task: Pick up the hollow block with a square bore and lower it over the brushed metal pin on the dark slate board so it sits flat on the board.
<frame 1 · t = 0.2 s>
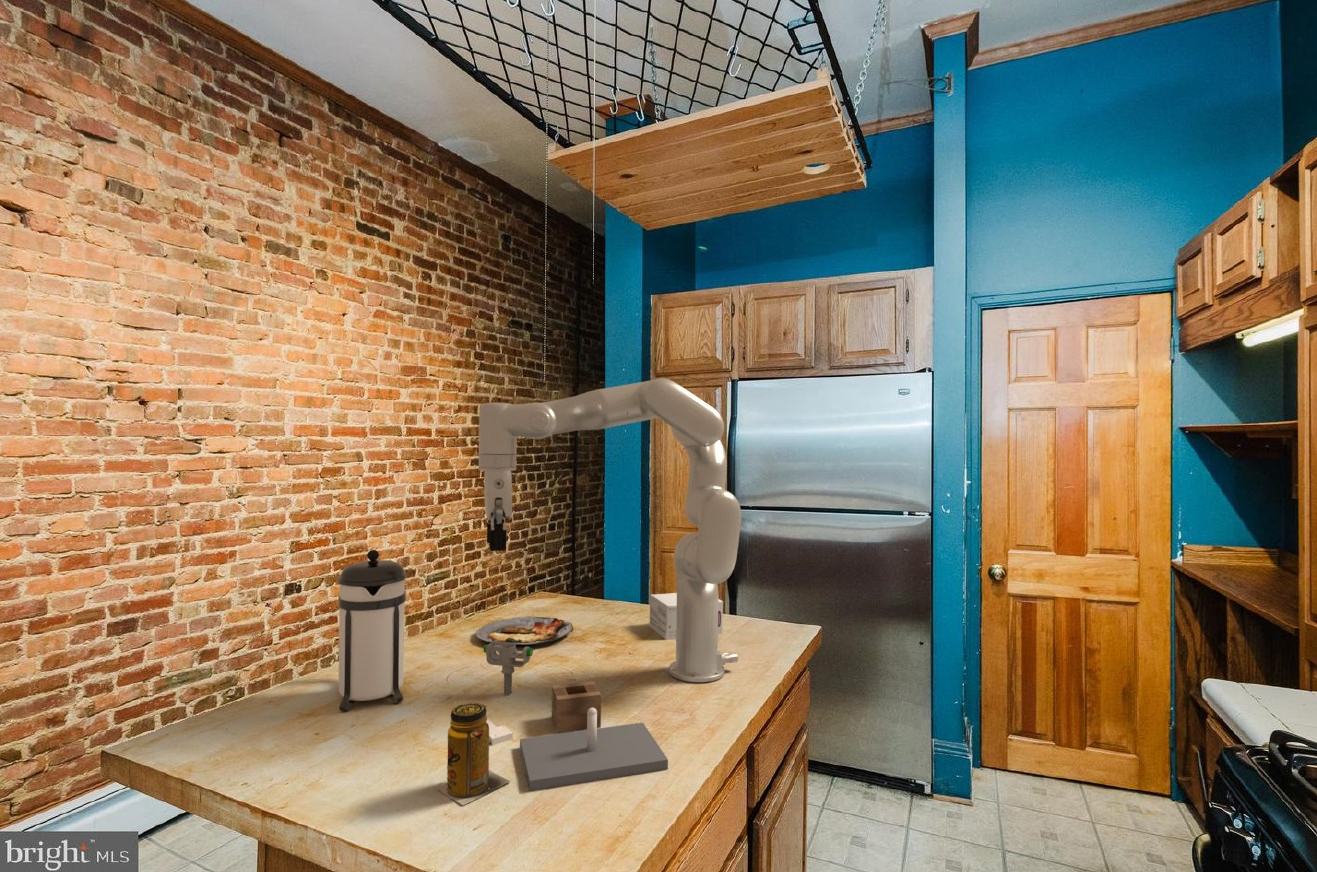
hand: (496, 546, 131), 31 cm above the counter, tool pointing down, fingers open, 9 cm apart
supplement box: (685, 631, 178), on the counter
hollow block: (575, 721, 120), on the counter
condiment: (473, 787, 98), on the counter
coffee press: (369, 696, 131), on the counter
food plate: (525, 637, 171), on the counter
mechanical component: (507, 694, 133), on the counter
corner connector: (481, 740, 114), on the counter
pin board: (591, 757, 107), on the counter
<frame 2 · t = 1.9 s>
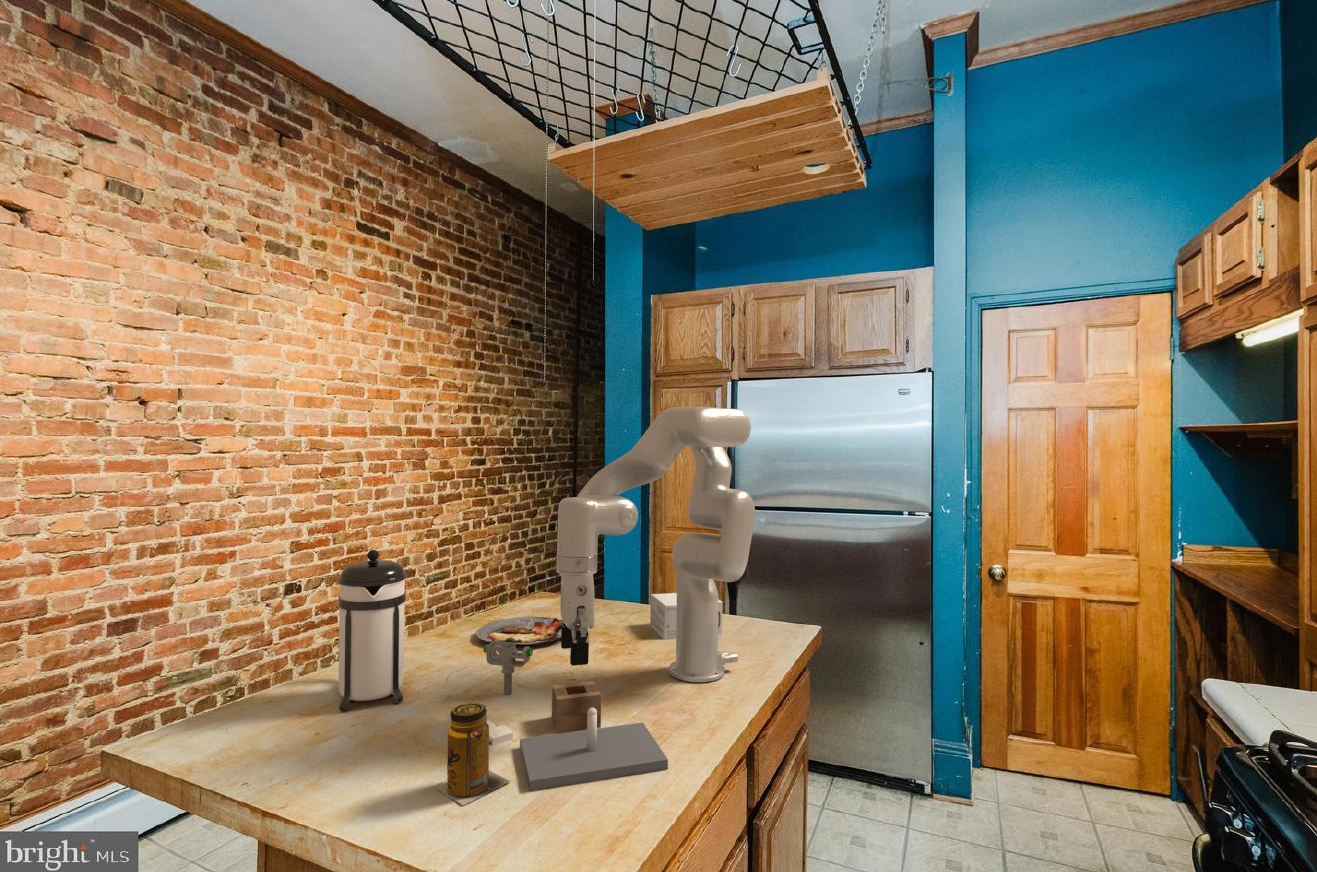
hand: (574, 655, 119), 13 cm above the counter, tool pointing down, fingers open, 9 cm apart
nothing on the counter moved.
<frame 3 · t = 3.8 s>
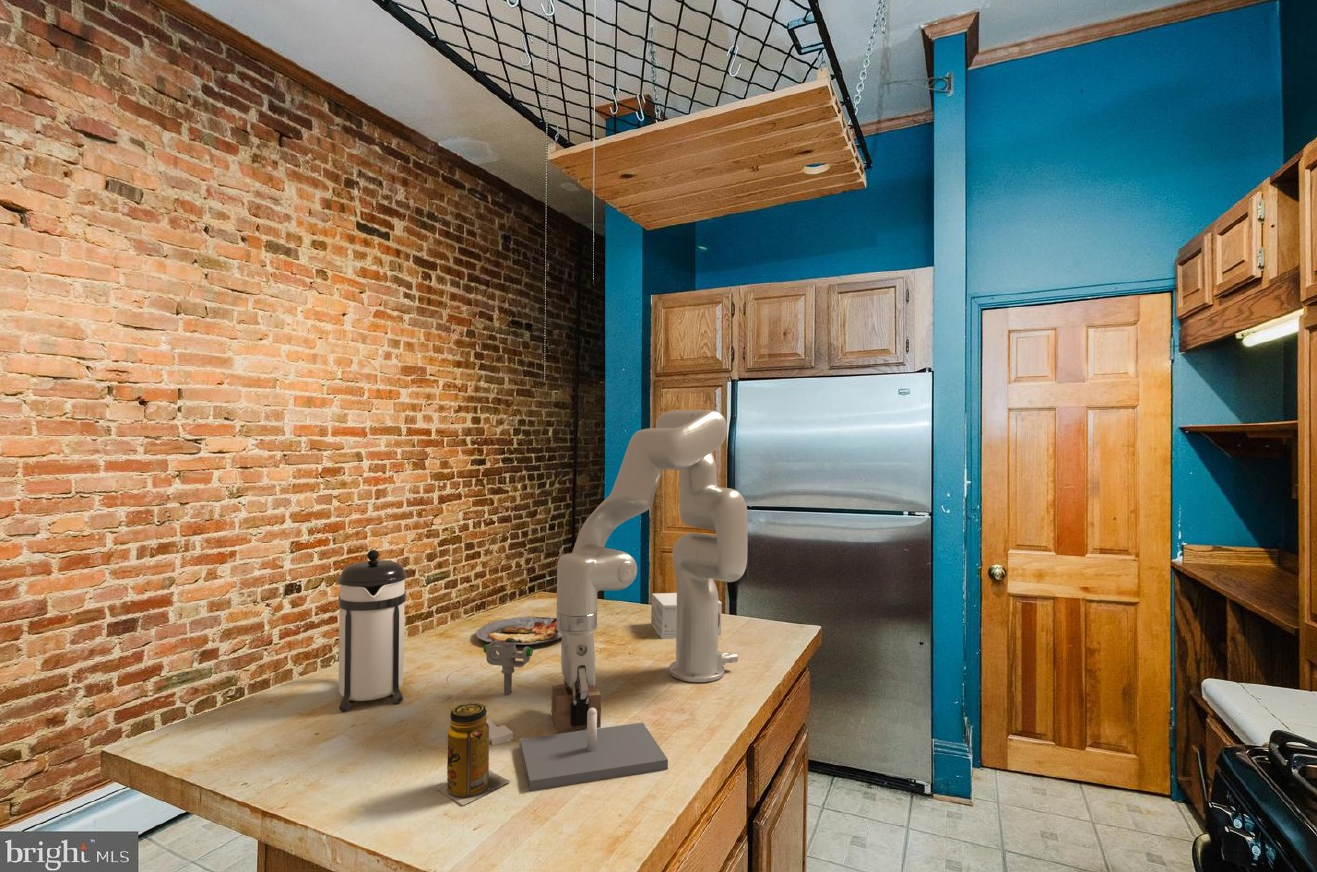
hand: (575, 715, 120), 1 cm above the counter, tool pointing down, fingers closed on hollow block, 6 cm apart
hollow block: (575, 721, 120), on the counter, touching gripper
everything else where it was.
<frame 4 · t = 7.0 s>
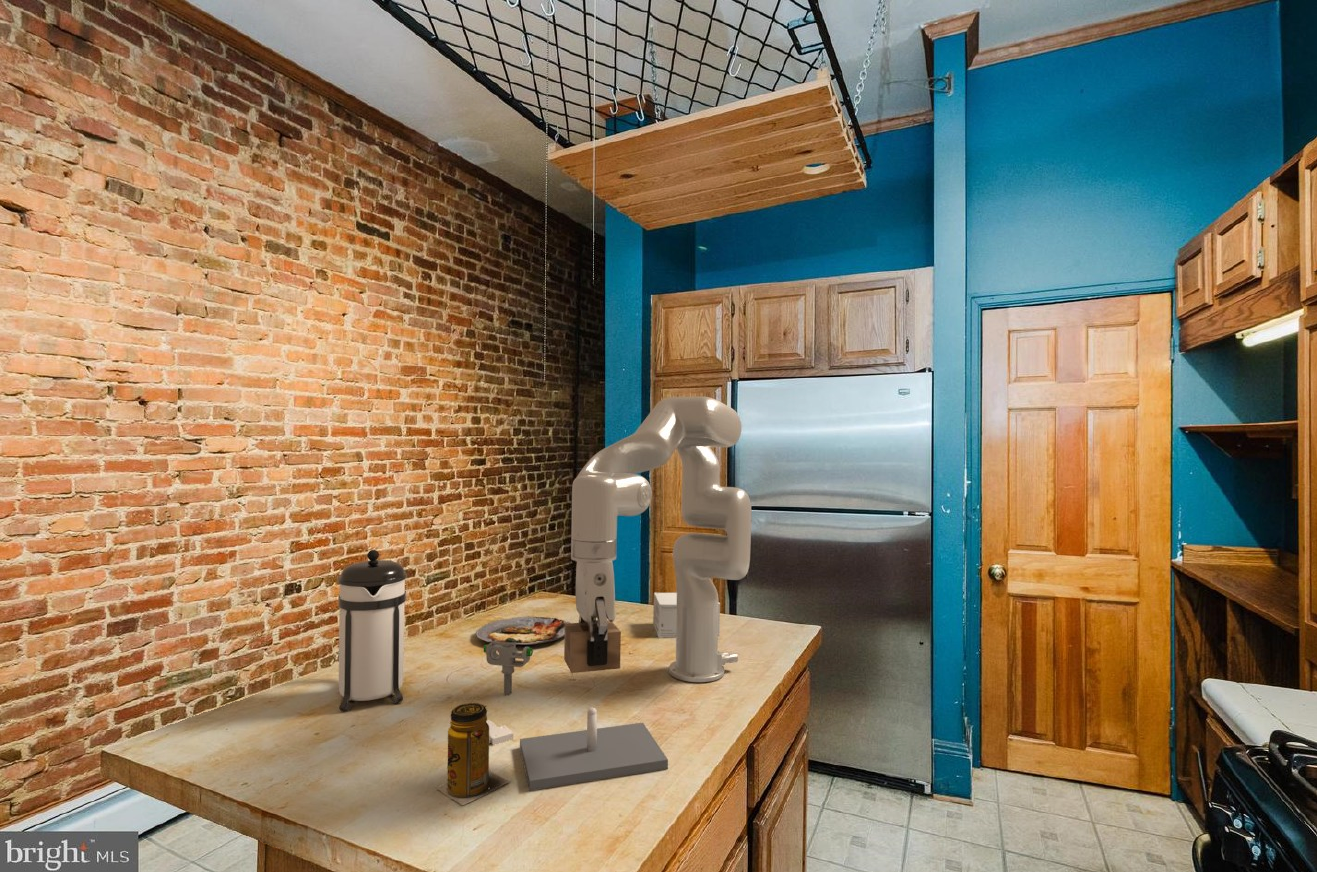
hand: (592, 656, 106), 17 cm above the counter, tool pointing down, fingers closed on hollow block, 6 cm apart
hollow block: (591, 663, 106), point 16 cm above the counter, touching gripper
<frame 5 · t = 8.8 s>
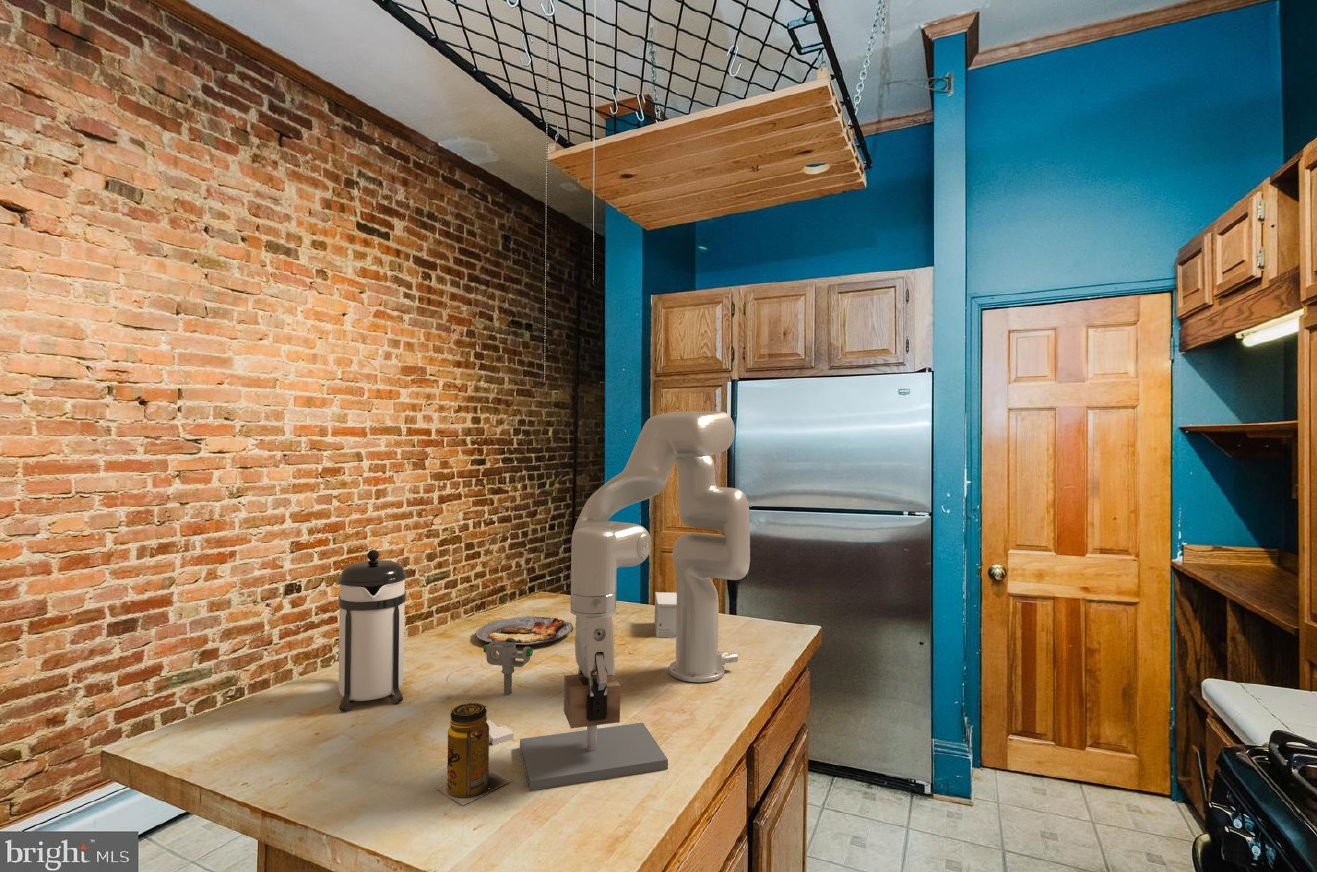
hand: (591, 709, 106), 8 cm above the counter, tool pointing down, fingers closed on hollow block, 6 cm apart
hollow block: (591, 716, 106), point 7 cm above the counter, touching gripper
when the fingers open (4 cm above the counter, at t = 10.5 s): hollow block drops 2 cm, resting on pin board.
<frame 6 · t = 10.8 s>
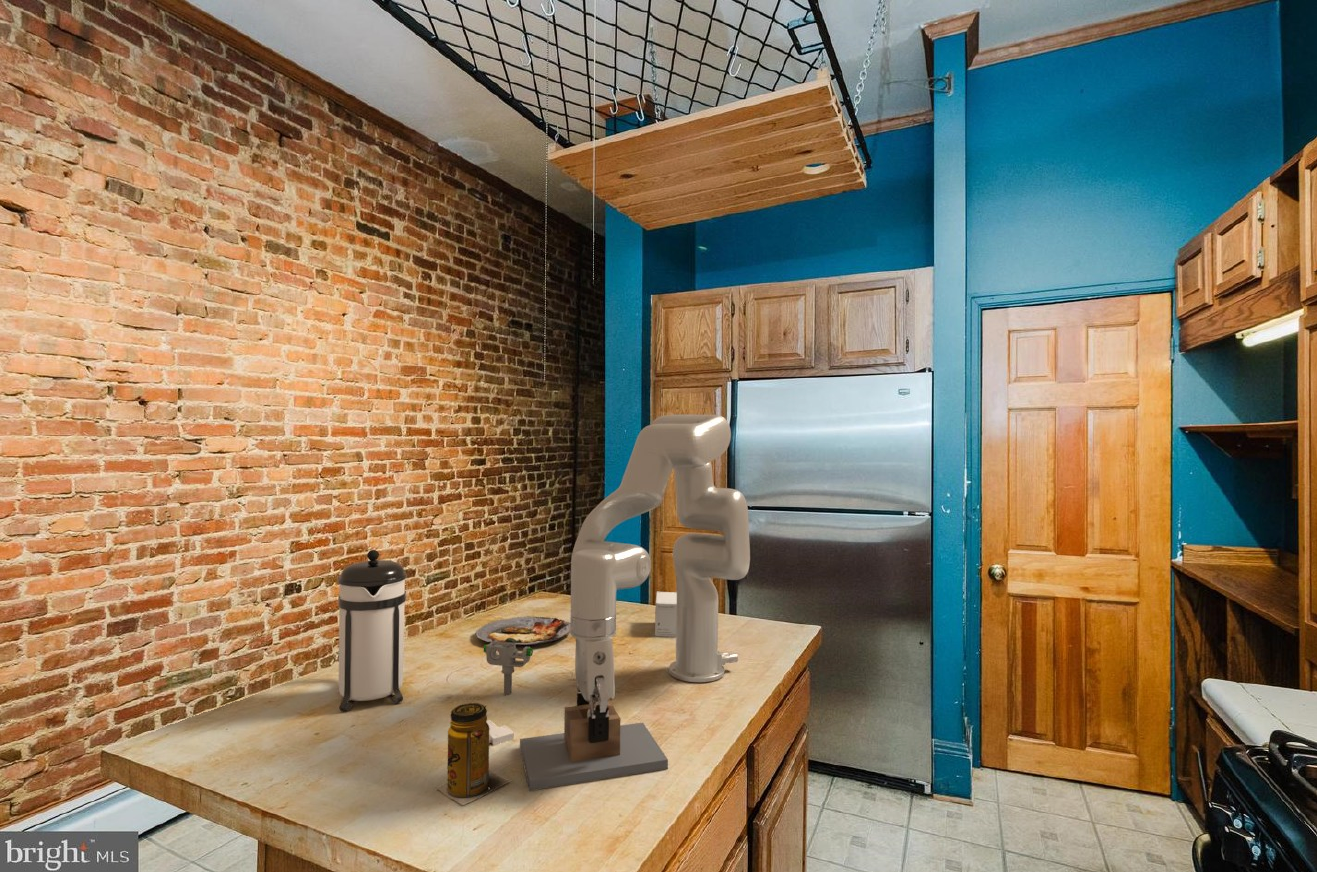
hand: (591, 727, 107), 5 cm above the counter, tool pointing down, fingers open, 9 cm apart
hollow block: (591, 748, 107), point 1 cm above the counter, touching pin board
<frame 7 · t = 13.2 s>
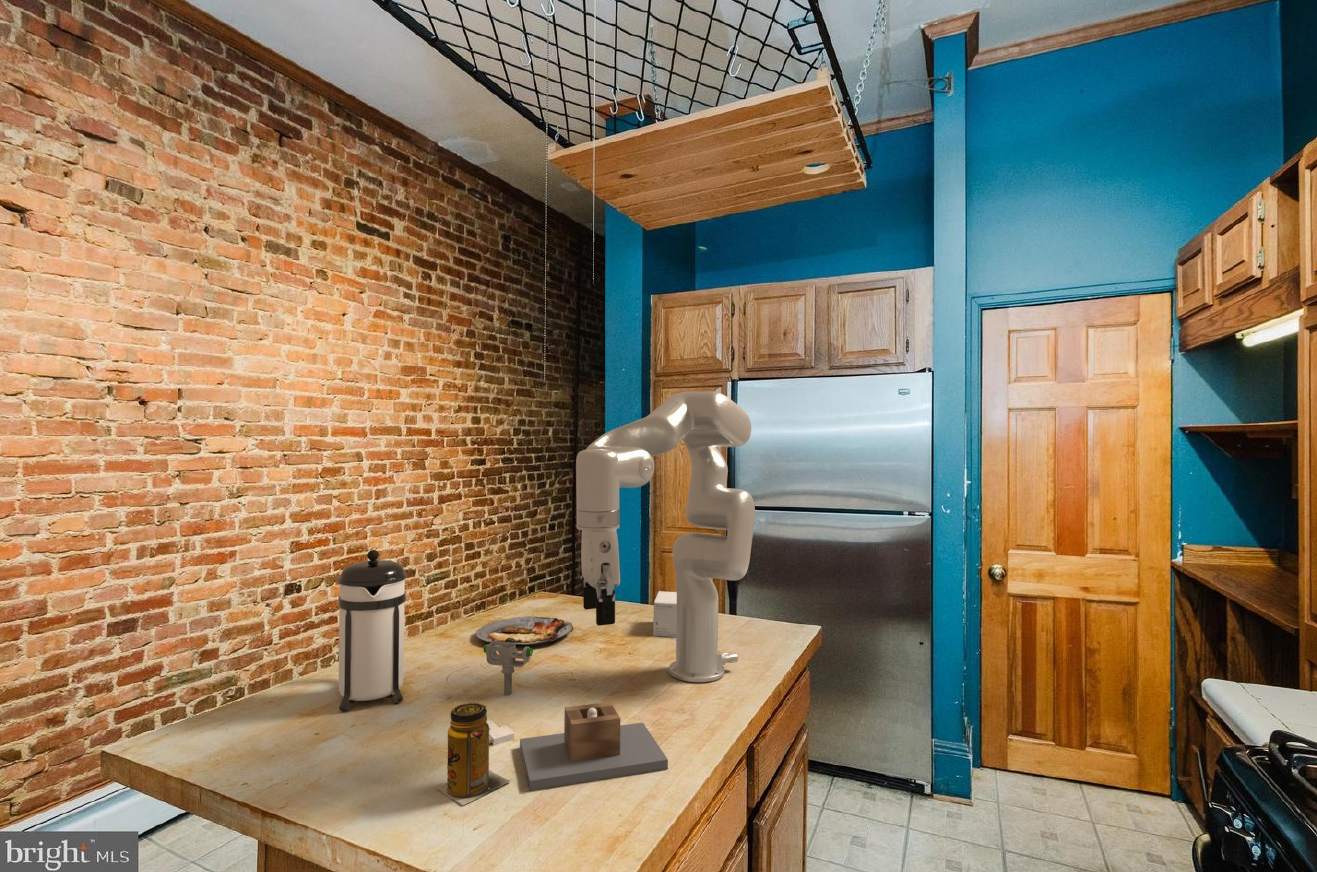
hand: (598, 616, 113), 22 cm above the counter, tool pointing down, fingers open, 9 cm apart
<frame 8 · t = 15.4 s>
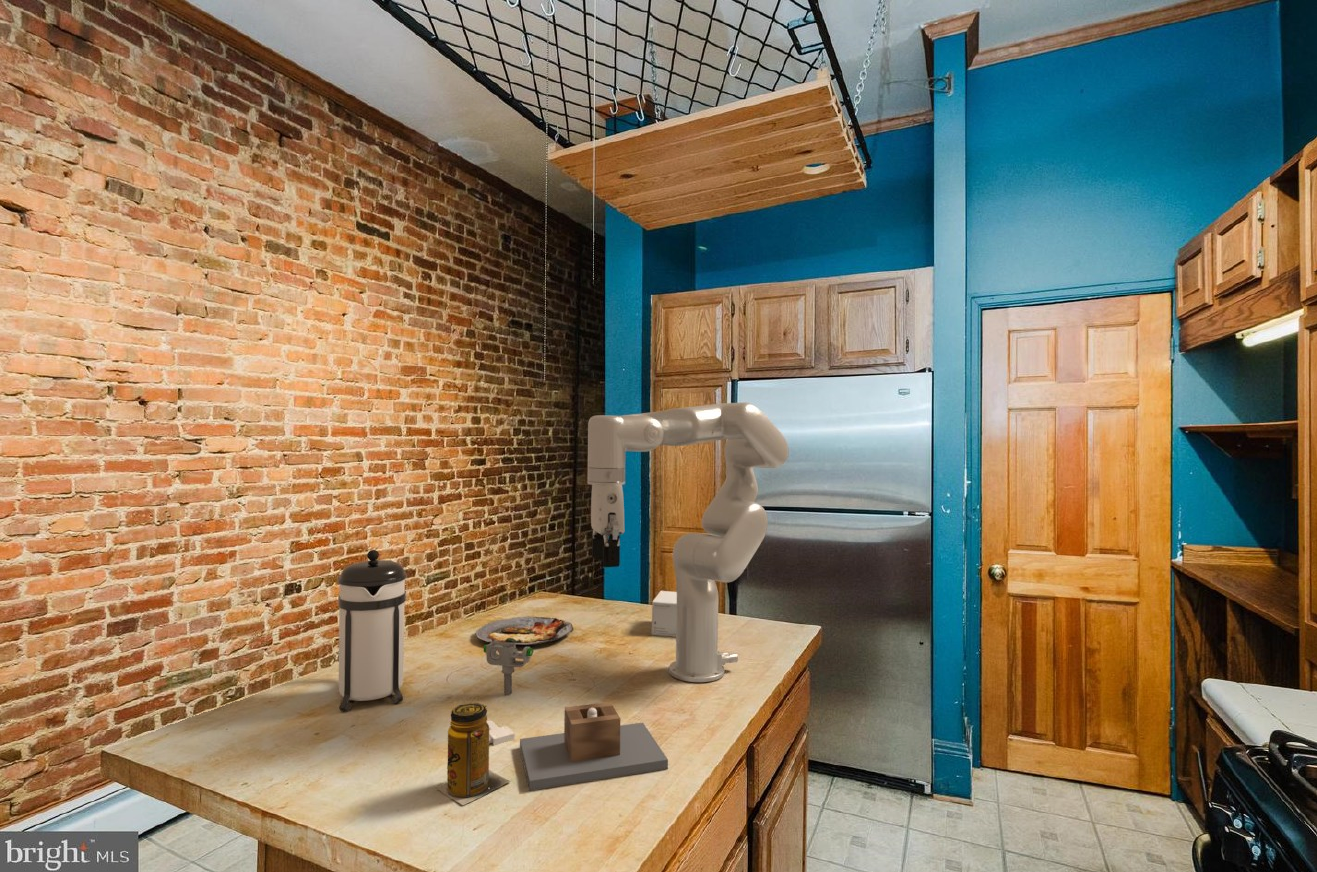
hand: (605, 561, 129), 28 cm above the counter, tool pointing down, fingers open, 9 cm apart
at the end: hollow block 0.1 cm off-centre on the pin board, point 1.5 cm above the pin board's base; hollow block tilted 0°; the gripper is holding nothing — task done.
